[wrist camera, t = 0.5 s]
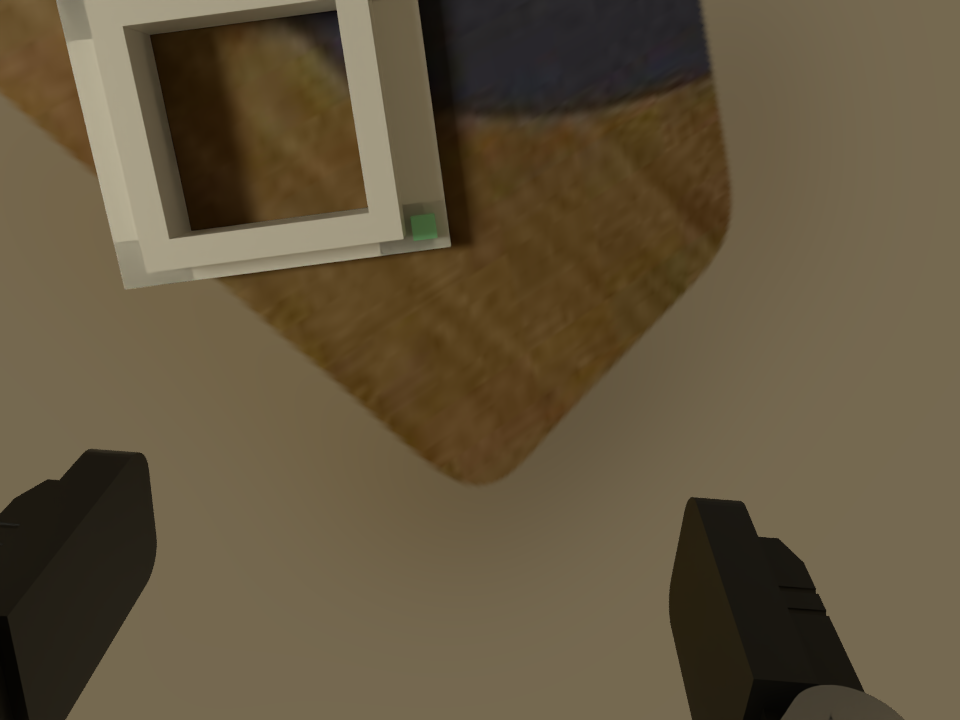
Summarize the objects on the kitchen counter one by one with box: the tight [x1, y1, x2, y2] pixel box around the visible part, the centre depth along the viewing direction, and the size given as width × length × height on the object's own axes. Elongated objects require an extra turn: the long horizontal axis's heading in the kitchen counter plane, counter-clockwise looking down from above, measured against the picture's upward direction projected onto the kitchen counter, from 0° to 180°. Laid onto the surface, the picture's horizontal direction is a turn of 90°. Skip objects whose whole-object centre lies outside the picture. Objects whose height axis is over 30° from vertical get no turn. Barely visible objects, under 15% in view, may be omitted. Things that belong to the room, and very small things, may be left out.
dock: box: [56, 0, 451, 289], centre depth 35 cm, size 12×14×3 cm
